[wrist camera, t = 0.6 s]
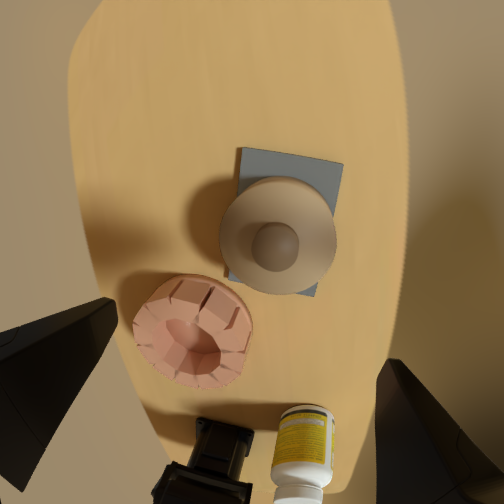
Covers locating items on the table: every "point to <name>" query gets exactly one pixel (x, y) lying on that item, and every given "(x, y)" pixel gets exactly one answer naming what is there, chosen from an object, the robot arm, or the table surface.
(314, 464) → the supplement bottle
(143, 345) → the pink notched ring
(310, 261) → the lid
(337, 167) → the mat
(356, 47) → the table surface
